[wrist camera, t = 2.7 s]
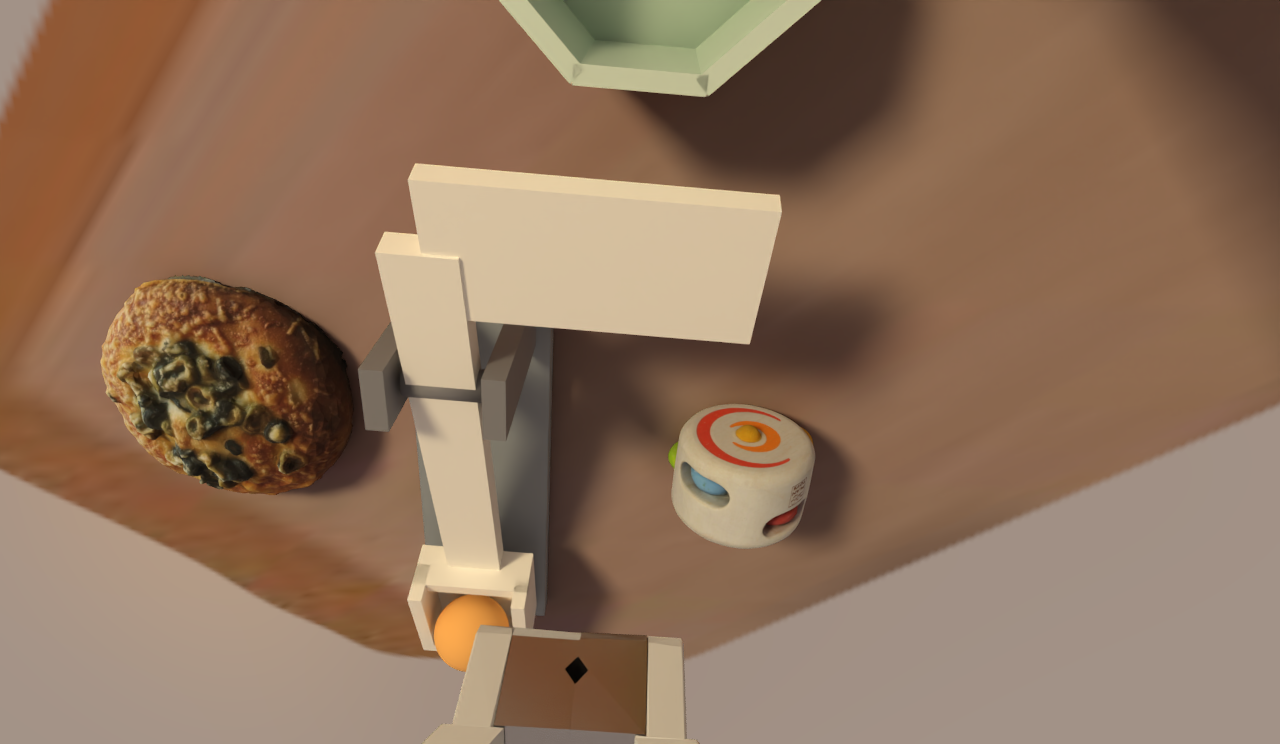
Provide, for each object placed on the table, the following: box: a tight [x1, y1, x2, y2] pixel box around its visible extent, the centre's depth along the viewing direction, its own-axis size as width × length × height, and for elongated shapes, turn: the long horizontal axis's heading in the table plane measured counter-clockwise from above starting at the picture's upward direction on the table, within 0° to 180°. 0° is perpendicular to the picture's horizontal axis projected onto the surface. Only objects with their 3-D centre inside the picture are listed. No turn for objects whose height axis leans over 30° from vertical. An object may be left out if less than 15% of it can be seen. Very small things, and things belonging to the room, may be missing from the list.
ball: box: [434, 594, 509, 672], centre depth 36 cm, size 4×4×4 cm
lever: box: [375, 163, 782, 651], centre depth 30 cm, size 26×13×3 cm, turn 175°
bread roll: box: [100, 275, 354, 495], centre depth 34 cm, size 11×11×5 cm
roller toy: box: [668, 404, 815, 549], centre depth 33 cm, size 4×6×6 cm
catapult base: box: [358, 321, 554, 616], centre depth 33 cm, size 20×6×8 cm, turn 175°
